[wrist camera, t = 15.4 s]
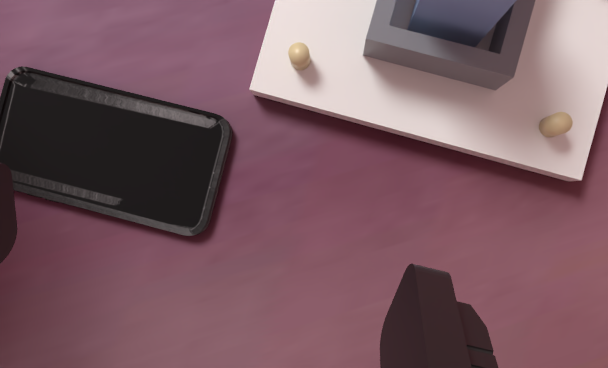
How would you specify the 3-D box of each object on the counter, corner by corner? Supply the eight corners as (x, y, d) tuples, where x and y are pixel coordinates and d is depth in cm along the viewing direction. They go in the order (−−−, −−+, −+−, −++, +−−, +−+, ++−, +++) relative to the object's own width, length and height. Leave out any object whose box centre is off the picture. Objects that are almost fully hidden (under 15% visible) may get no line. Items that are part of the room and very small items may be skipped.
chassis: (253, 94, 31) (239, 76, 27) (314, -115, 32) (311, -168, 27) (568, 181, 30) (610, 177, 25) (629, -40, 30) (681, -82, 26)
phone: (9, 62, 32) (233, 118, 31) (21, 67, 33) (237, 121, 32) (-23, 182, 31) (201, 241, 30) (-11, 182, 33) (206, 240, 32)
